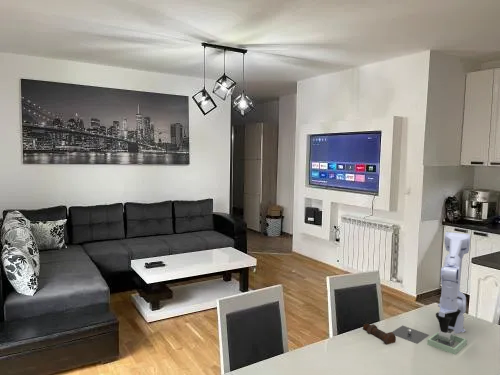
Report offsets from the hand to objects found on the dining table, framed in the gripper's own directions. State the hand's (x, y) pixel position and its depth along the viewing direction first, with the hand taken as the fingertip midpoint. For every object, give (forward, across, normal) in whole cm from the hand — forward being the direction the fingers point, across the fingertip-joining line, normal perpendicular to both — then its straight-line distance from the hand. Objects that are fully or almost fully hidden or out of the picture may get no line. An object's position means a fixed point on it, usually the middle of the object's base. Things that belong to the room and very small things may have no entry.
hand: (447, 329), depth 148 cm
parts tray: (+7, 0, 0) cm, 7 cm away
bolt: (+8, +15, -22) cm, 28 cm away
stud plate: (+7, +3, -14) cm, 16 cm away
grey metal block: (+7, 0, 0) cm, 7 cm away
